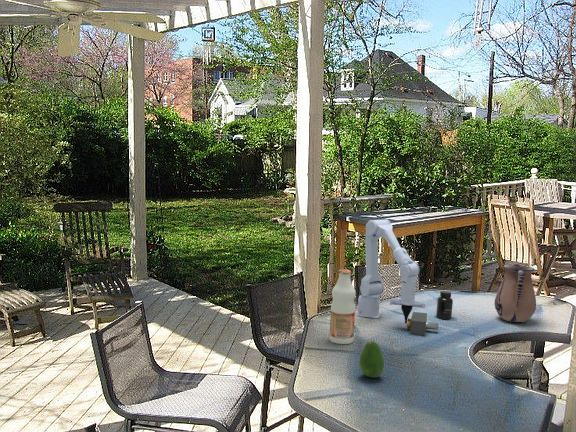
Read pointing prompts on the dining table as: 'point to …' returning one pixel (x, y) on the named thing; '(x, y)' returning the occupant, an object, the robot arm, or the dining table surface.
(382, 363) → the avocado
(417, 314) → the hitch beam
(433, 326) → the lynch pin
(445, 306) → the supplement bottle
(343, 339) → the fruit juice
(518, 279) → the ceramic pitcher
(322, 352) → the dining table surface
